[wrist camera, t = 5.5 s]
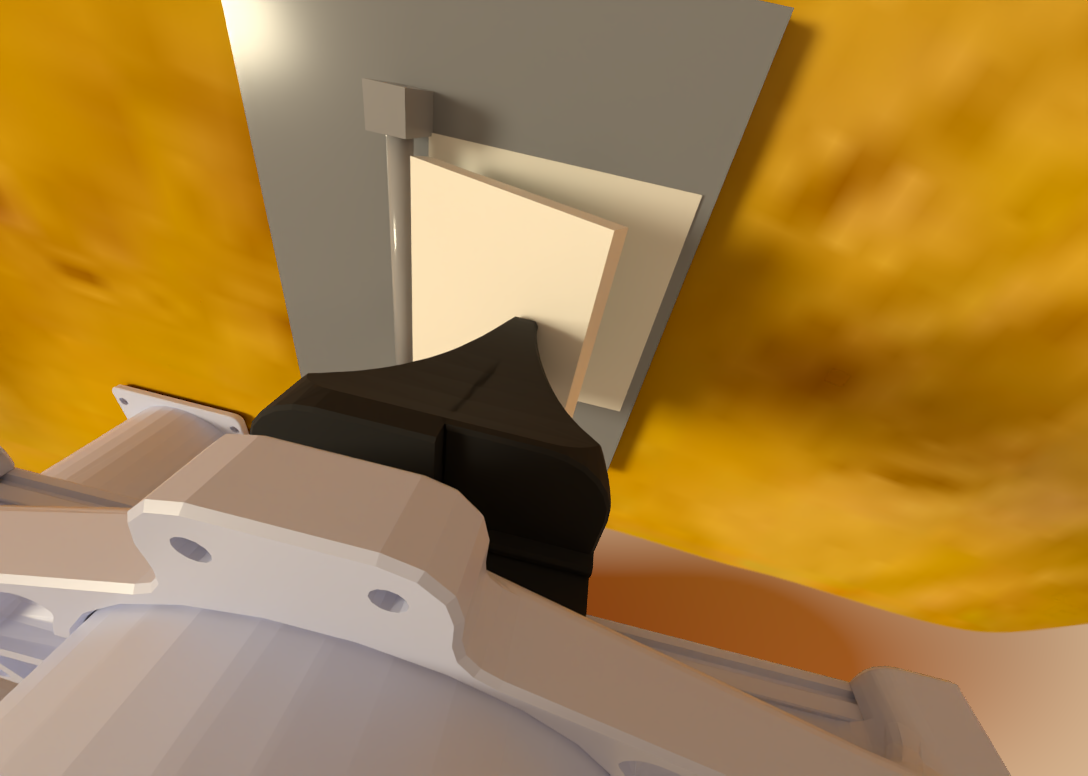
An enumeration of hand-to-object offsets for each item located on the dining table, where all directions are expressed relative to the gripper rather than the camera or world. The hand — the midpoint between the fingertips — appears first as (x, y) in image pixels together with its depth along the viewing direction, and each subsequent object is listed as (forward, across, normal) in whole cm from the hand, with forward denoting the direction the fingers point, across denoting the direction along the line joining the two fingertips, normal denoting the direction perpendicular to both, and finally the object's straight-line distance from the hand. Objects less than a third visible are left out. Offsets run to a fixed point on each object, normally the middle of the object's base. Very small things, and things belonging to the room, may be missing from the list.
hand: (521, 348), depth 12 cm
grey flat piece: (+5, +3, 0) cm, 6 cm away
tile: (+1, +1, 0) cm, 2 cm away
